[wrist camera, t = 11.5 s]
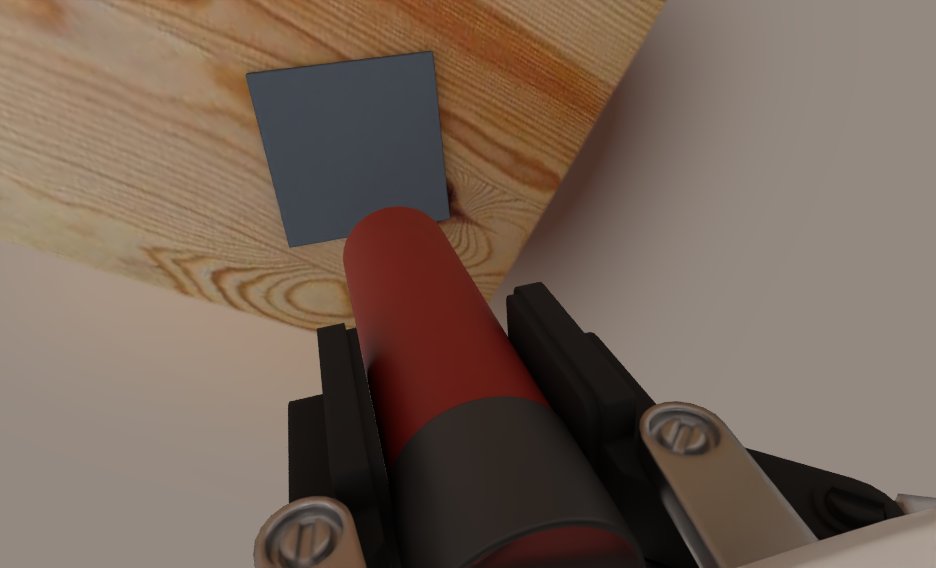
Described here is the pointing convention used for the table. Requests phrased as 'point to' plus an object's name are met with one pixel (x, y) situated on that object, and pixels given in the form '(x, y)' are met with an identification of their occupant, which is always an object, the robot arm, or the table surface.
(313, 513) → the robot arm
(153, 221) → the table surface
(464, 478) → the marker pen
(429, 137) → the desk pad
